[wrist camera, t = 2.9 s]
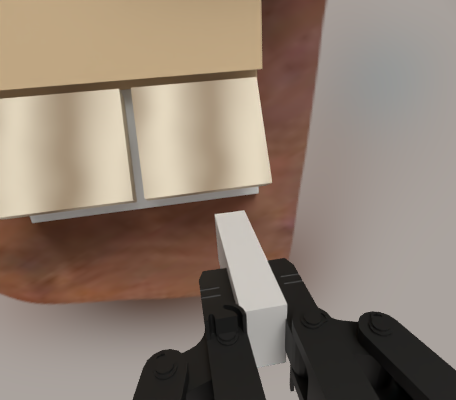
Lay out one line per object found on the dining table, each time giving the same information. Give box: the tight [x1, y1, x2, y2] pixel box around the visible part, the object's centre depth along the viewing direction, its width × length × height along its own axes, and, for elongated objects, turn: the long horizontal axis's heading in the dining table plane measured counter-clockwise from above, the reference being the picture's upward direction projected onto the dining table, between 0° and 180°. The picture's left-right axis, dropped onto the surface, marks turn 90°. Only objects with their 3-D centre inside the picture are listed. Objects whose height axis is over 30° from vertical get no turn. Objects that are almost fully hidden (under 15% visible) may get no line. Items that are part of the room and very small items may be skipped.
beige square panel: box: [131, 77, 272, 201], centre depth 24 cm, size 9×8×2 cm
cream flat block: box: [0, 89, 137, 219], centre depth 23 cm, size 9×8×2 cm
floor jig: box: [0, 0, 262, 223], centre depth 25 cm, size 20×17×3 cm
